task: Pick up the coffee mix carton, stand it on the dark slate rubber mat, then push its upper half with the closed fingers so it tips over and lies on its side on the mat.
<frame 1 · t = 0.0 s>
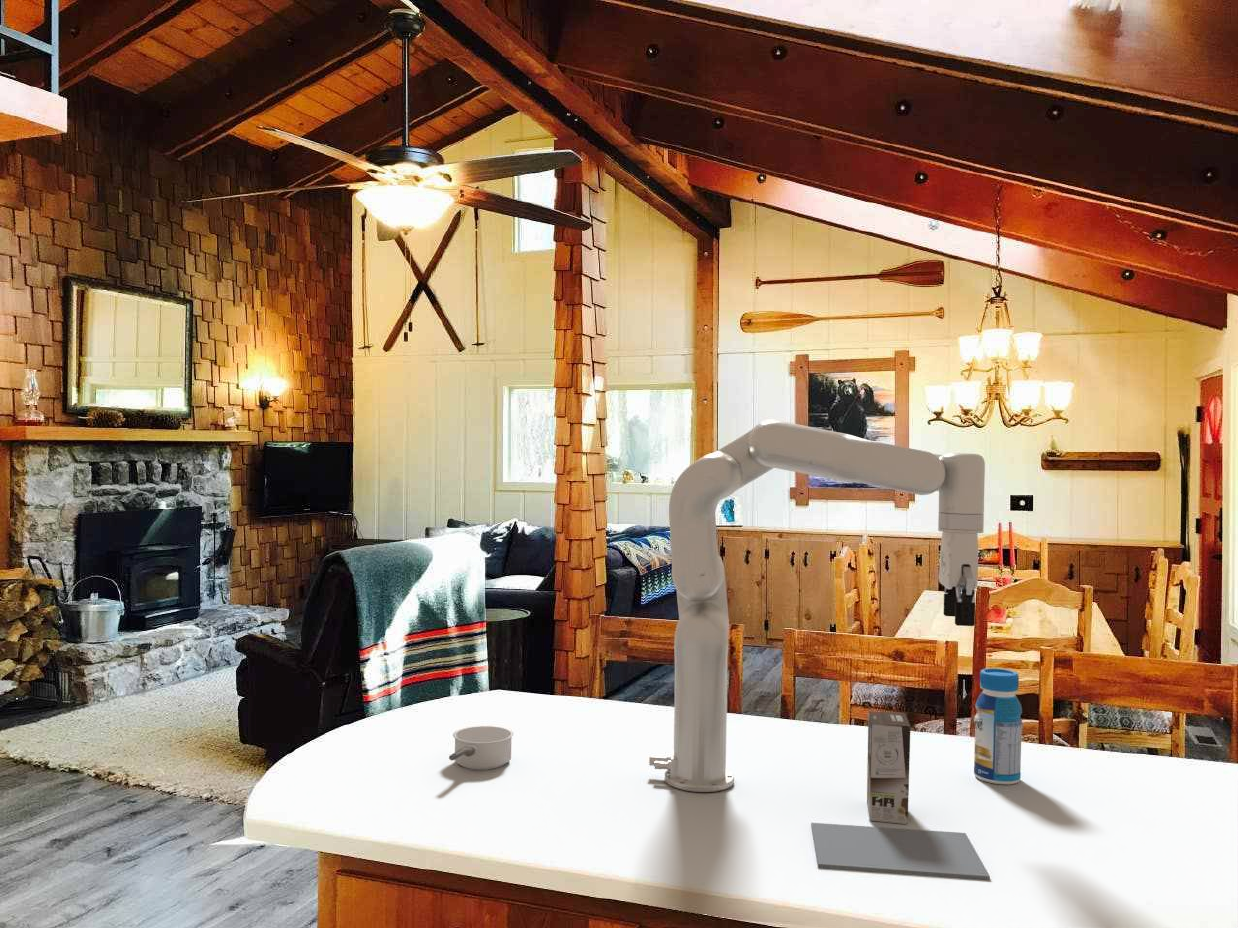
hand: (958, 620, 172), 31 cm above the counter, tool pointing down, fingers open, 9 cm apart
beverage bottle: (996, 779, 183), on the counter
slate mat: (894, 850, 148), on the counter
coffee box: (886, 814, 164), on the counter
saucepan: (474, 770, 183), on the counter
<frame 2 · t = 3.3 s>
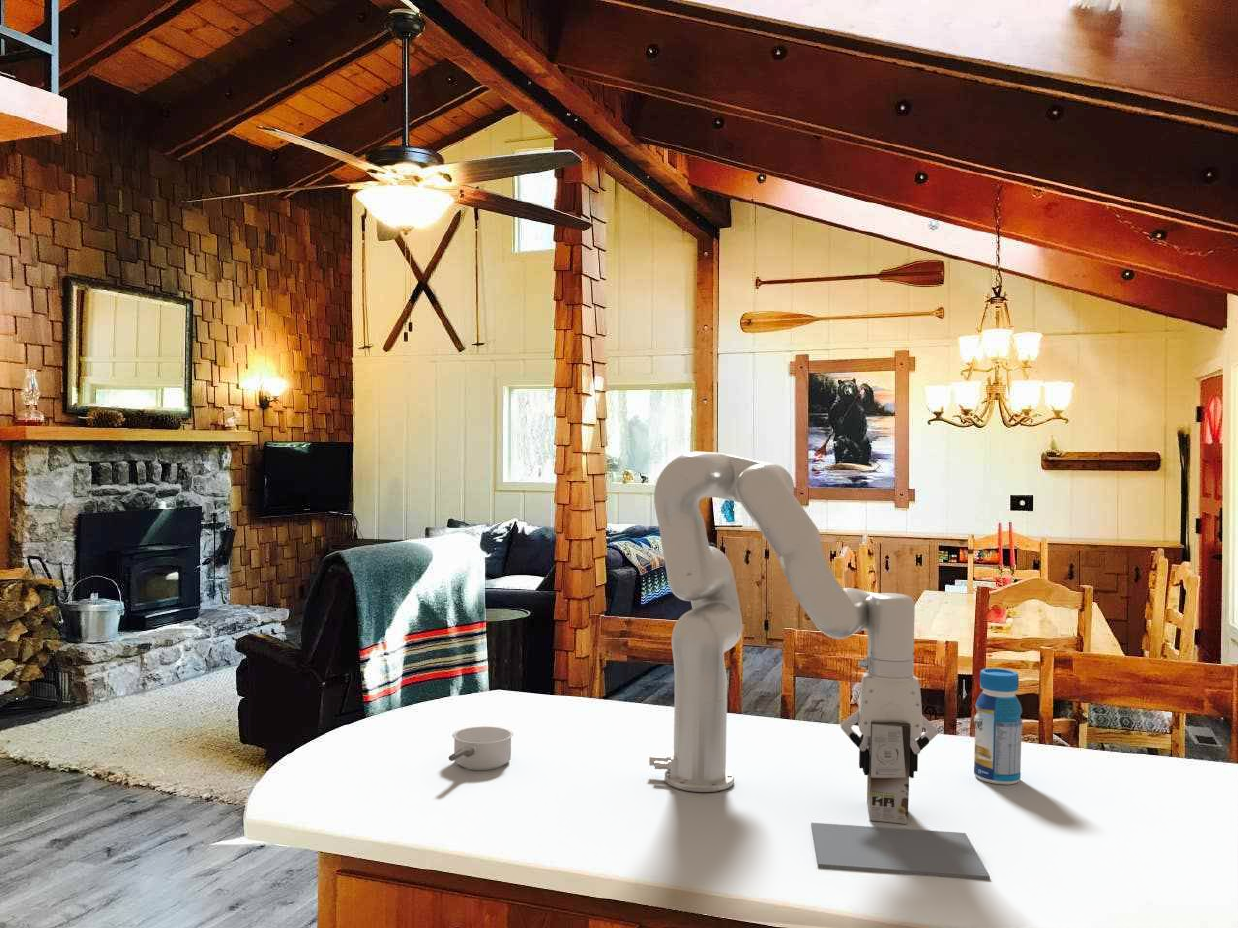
hand: (887, 772, 164), 7 cm above the counter, tool pointing down, fingers closed on coffee box, 6 cm apart
coffee box: (886, 814, 164), on the counter, touching gripper
everything else where it was.
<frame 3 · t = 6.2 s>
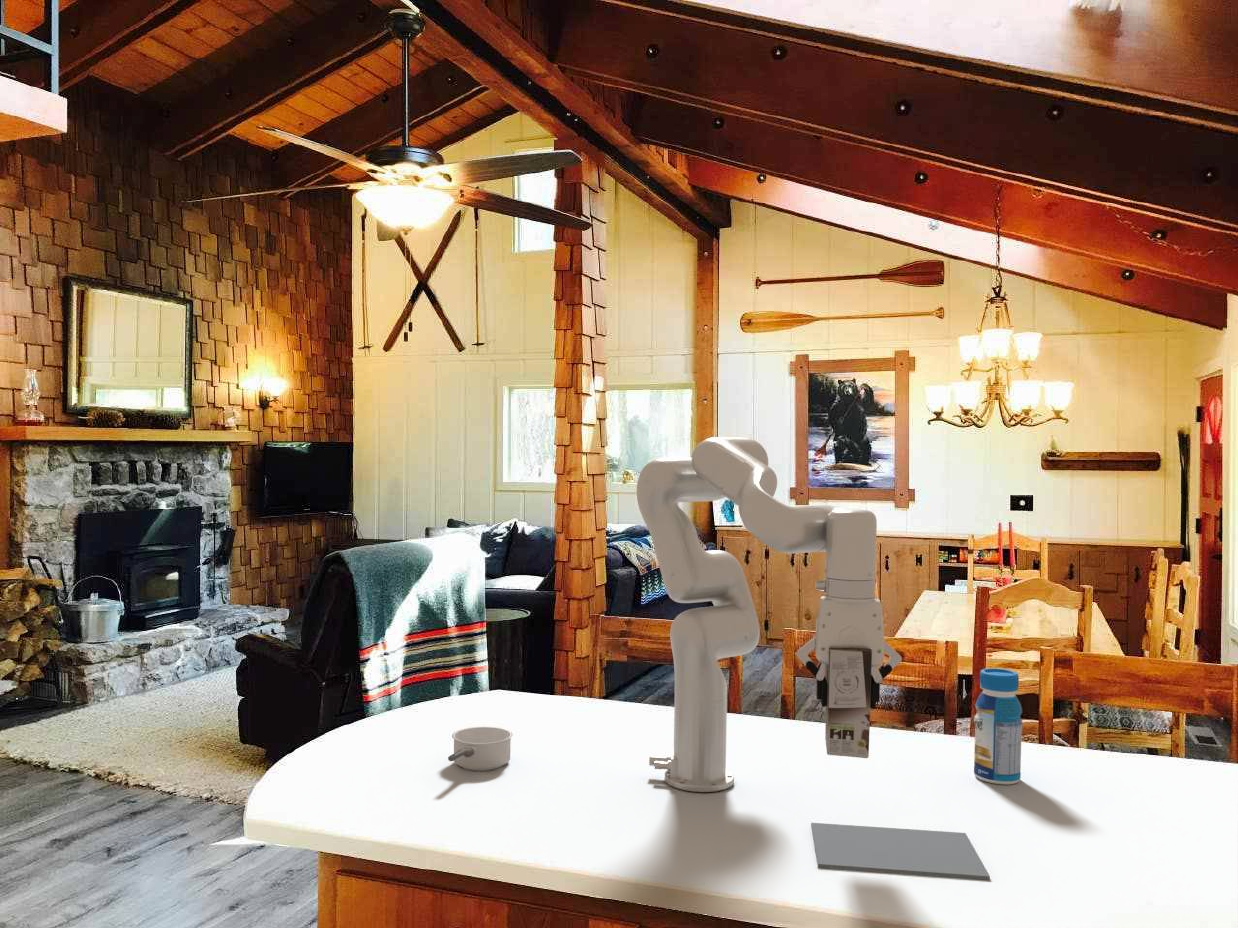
hand: (847, 704, 150), 22 cm above the counter, tool pointing down, fingers closed on coffee box, 6 cm apart
coffee box: (846, 749, 150), point 15 cm above the counter, touching gripper
everything else where it was.
when the fingers open (9 cm above the counter, at t = 9.3 s): coffee box drops 1 cm, resting on slate mat.
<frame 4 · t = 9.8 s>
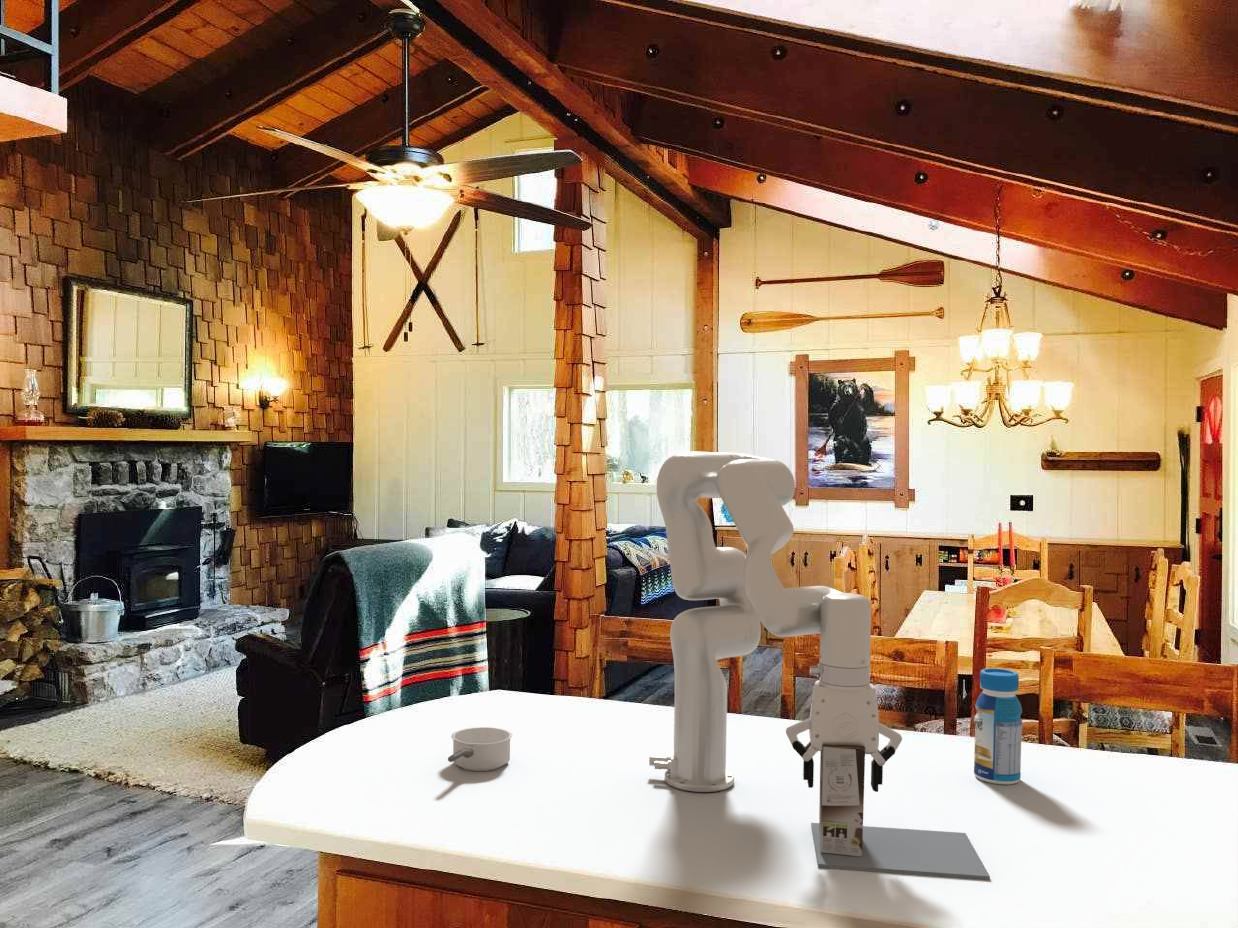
hand: (842, 786, 149), 9 cm above the counter, tool pointing down, fingers open, 9 cm apart
coffee box: (840, 844, 150), resting on slate mat
everything else where it was.
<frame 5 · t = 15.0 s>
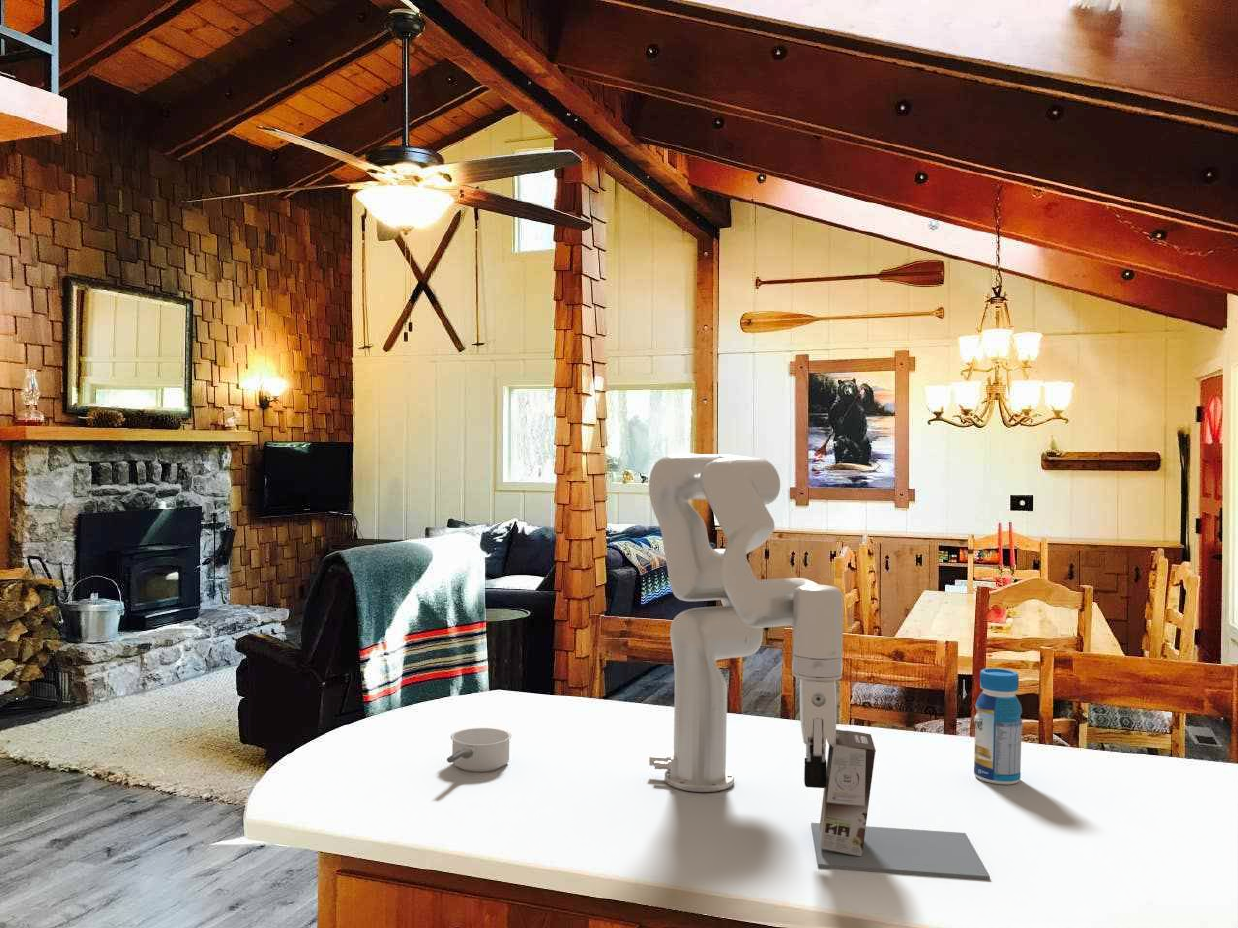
hand: (815, 785, 150), 9 cm above the counter, tool pointing down, fingers closed
coffee box: (840, 842, 150), point 1 cm above the counter, touching gripper, slate mat
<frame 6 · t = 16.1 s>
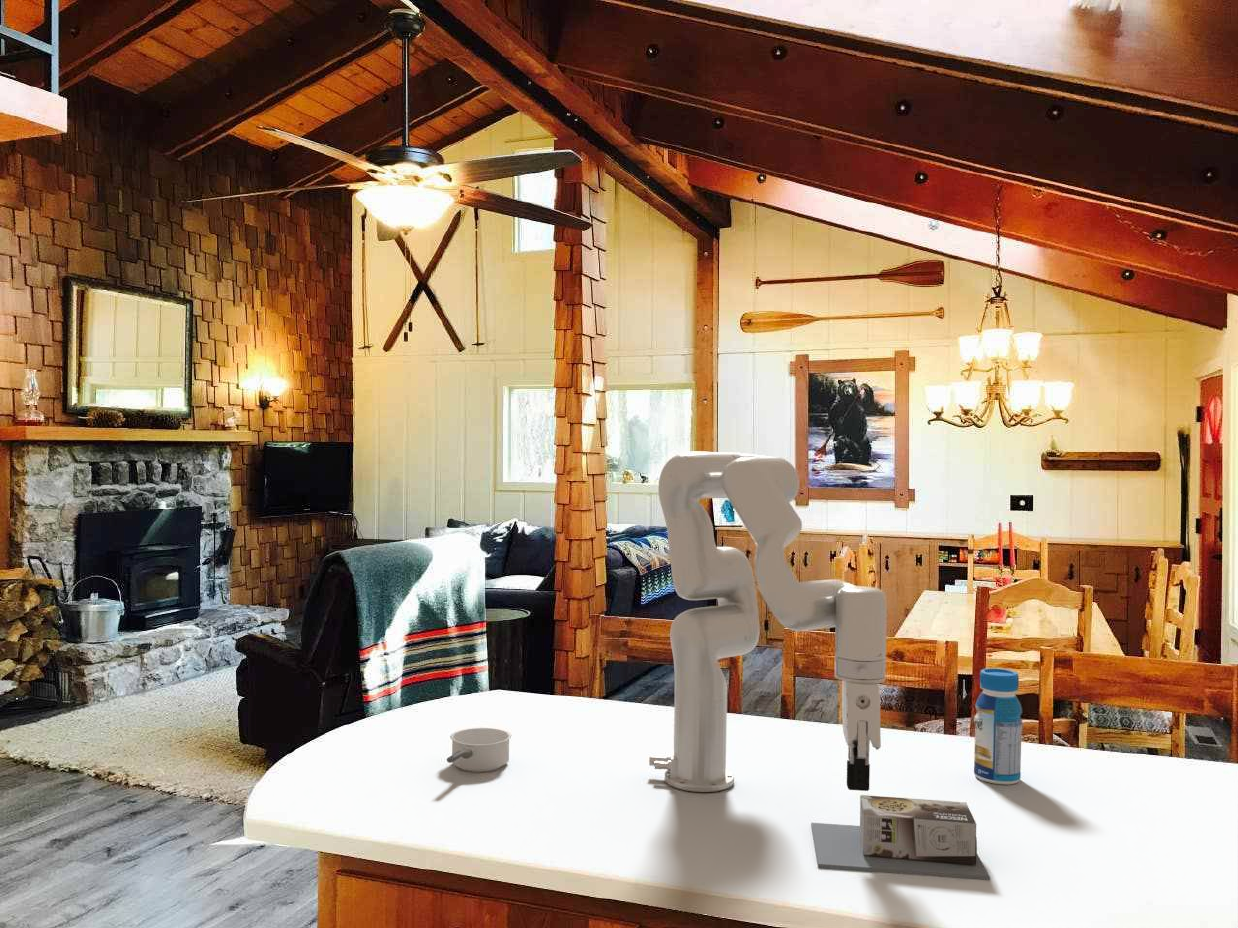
hand: (857, 788, 149), 9 cm above the counter, tool pointing down, fingers closed
coffee box: (860, 823, 149), point 4 cm above the counter, touching slate mat
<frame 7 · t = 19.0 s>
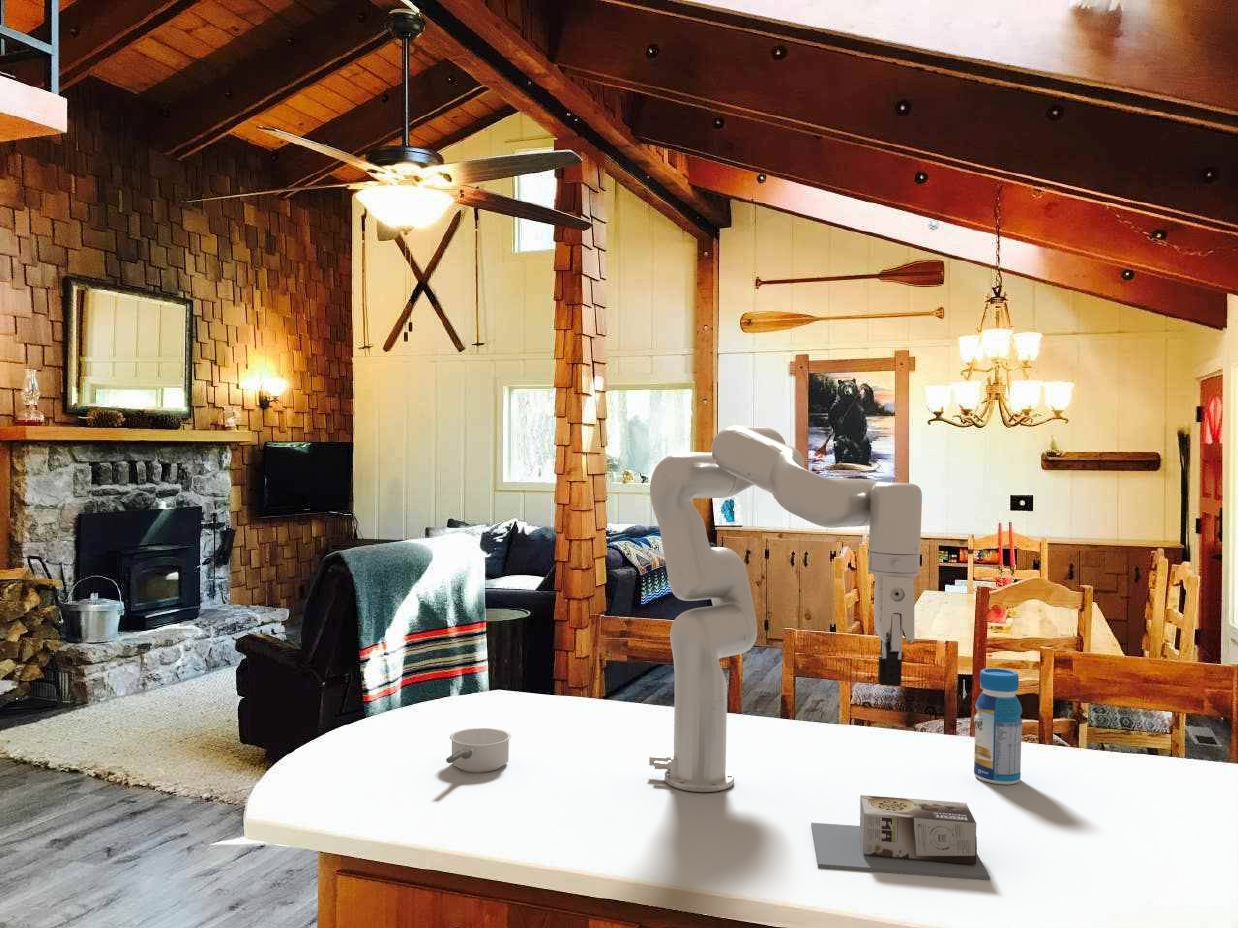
hand: (889, 684, 148), 25 cm above the counter, tool pointing down, fingers closed
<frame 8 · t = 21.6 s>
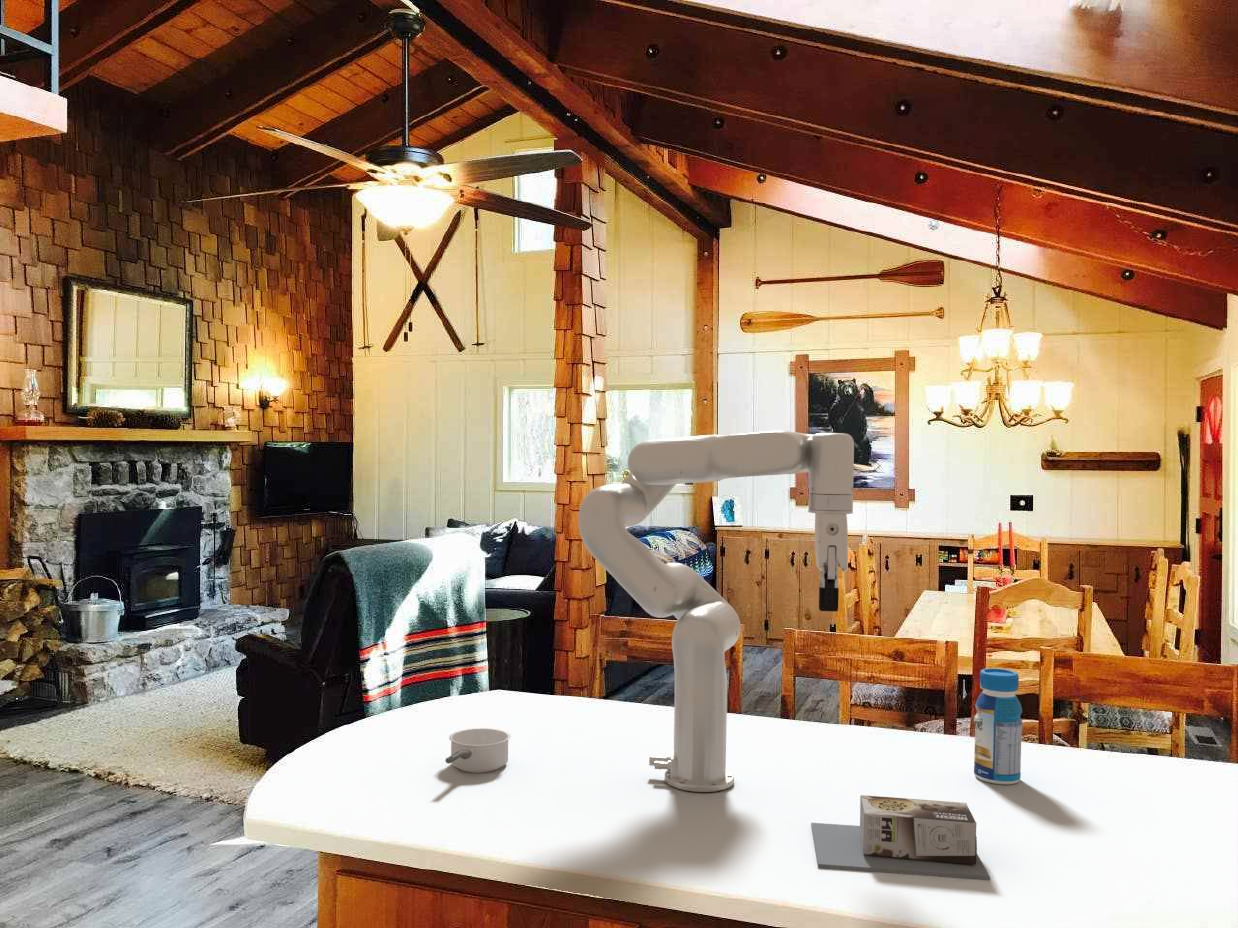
hand: (828, 610, 169), 33 cm above the counter, tool pointing down, fingers closed
at the end: coffee box tilted 90°; coffee box inside the target area on the slate mat (7.2 cm from its centre), point 3.7 cm above the slate mat's base; the gripper is holding nothing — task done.
